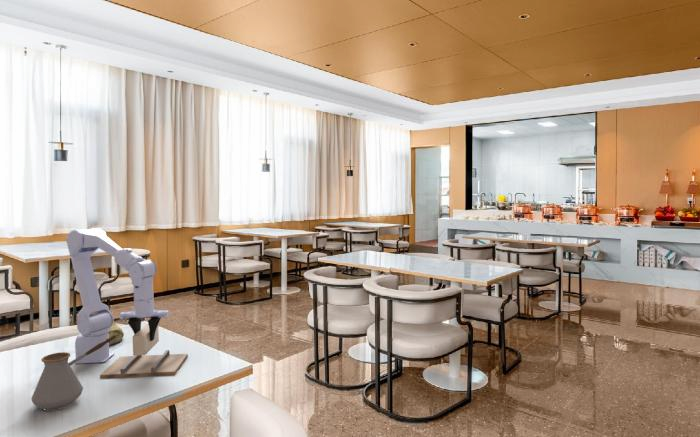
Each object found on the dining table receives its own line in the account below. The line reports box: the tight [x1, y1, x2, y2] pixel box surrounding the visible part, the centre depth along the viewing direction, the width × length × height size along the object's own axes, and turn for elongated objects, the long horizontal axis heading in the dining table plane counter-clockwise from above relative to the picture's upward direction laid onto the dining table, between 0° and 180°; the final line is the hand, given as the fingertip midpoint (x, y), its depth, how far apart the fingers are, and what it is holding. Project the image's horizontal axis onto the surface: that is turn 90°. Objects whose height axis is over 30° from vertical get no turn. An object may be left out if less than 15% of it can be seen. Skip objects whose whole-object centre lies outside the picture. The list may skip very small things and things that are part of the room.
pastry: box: [108, 322, 125, 346], centre depth 168 cm, size 14×12×8 cm
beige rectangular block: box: [132, 323, 160, 356], centre depth 143 cm, size 4×13×6 cm, turn 6°
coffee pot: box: [31, 335, 119, 411], centre depth 122 cm, size 21×12×15 cm, turn 137°
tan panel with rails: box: [99, 349, 189, 379], centre depth 143 cm, size 22×15×2 cm
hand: (145, 340), depth 143 cm, fingers closed on beige rectangular block, 3 cm apart
